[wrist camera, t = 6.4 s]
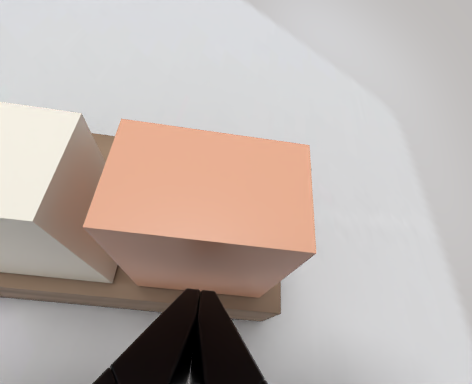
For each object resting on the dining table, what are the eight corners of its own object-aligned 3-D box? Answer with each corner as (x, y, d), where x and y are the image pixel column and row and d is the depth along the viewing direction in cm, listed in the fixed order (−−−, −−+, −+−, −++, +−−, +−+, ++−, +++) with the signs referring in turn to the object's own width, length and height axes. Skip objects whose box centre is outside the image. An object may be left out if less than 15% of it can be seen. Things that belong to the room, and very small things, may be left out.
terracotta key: (258, 297, 12) (316, 253, 6) (137, 285, 12) (82, 227, 6) (261, 230, 13) (309, 145, 8) (153, 218, 13) (120, 118, 7)
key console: (261, 321, 16) (280, 313, 12) (-116, 286, 14) (-218, 266, 11) (265, 192, 19) (280, 158, 16) (-32, 155, 18) (-86, 109, 15)
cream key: (112, 283, 12) (32, 221, 6) (-19, 270, 11) (-239, 190, 6) (131, 215, 13) (81, 113, 7) (15, 202, 13) (-131, 83, 7)
